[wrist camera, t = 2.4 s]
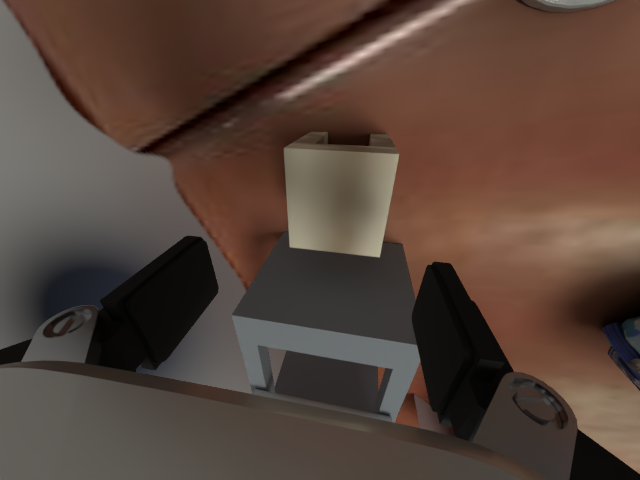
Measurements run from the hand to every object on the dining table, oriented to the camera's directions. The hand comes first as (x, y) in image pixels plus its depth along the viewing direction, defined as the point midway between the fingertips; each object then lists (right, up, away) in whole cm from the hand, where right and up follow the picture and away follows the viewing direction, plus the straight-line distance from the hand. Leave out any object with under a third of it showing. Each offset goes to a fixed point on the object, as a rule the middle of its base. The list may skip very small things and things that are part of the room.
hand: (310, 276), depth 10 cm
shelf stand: (+3, -7, +21) cm, 22 cm away
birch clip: (+3, +8, +12) cm, 14 cm away
